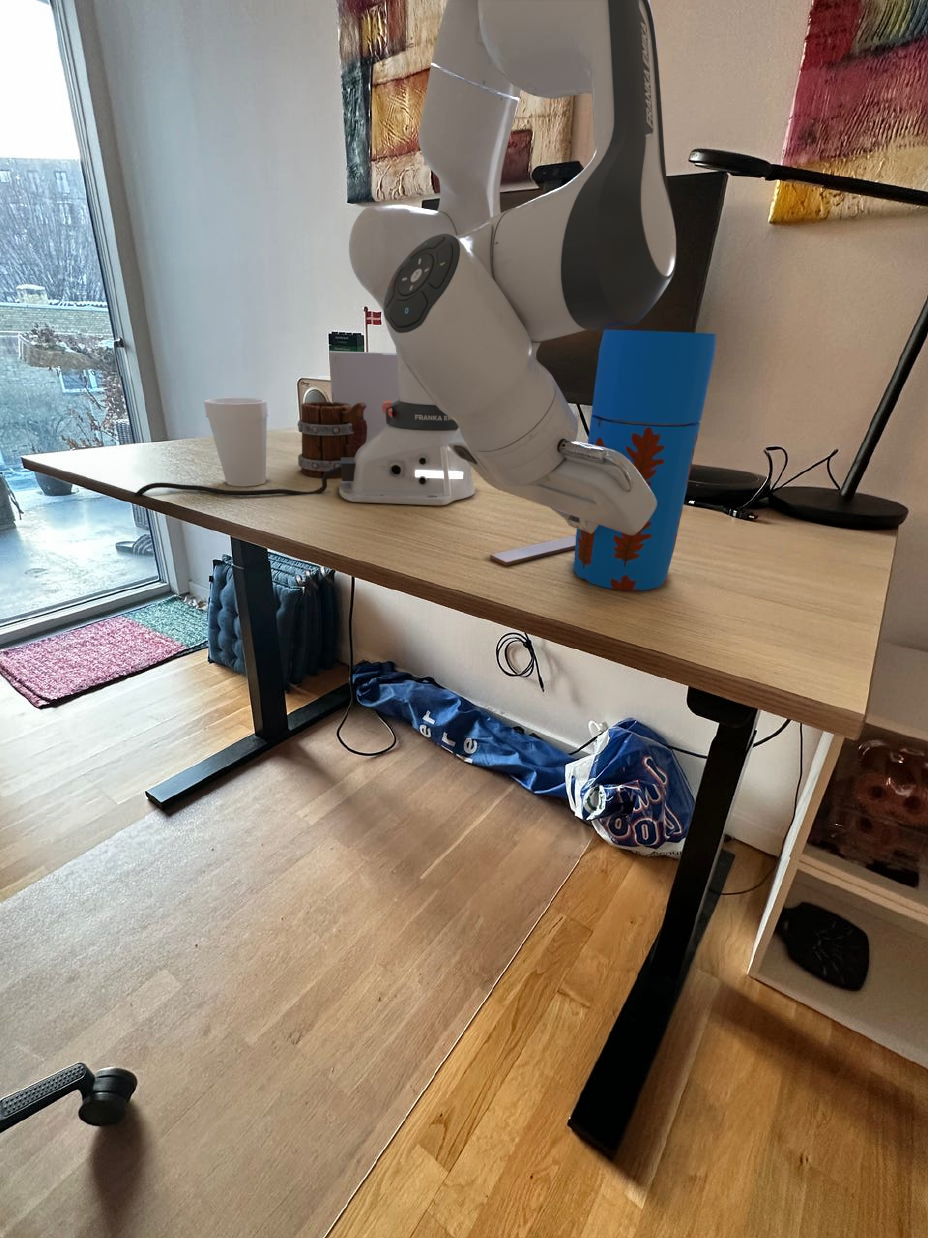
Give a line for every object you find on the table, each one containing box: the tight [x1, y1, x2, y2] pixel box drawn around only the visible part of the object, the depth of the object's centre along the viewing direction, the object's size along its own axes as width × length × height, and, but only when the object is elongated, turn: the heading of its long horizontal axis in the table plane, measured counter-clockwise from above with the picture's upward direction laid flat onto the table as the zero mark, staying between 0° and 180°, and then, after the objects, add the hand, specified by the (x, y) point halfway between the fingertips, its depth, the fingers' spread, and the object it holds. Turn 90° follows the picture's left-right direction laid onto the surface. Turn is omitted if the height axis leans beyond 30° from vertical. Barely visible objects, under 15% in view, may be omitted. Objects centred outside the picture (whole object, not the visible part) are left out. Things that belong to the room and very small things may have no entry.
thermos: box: [573, 329, 717, 592], centre depth 62 cm, size 11×11×25 cm
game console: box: [328, 350, 399, 442], centre depth 118 cm, size 6×27×20 cm, turn 106°
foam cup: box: [203, 397, 269, 487], centre depth 96 cm, size 10×9×13 cm
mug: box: [297, 401, 368, 479], centre depth 104 cm, size 12×14×15 cm
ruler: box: [489, 534, 576, 567], centre depth 77 cm, size 30×3×1 cm, turn 127°
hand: (585, 524), depth 60 cm, fingers closed
